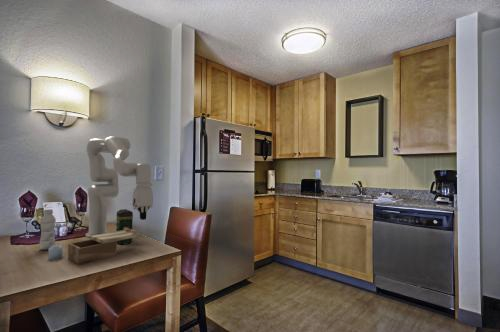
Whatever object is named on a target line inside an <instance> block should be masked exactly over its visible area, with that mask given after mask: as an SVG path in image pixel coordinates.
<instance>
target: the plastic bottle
mask: <svg viewBox="0 0 500 332" xmlns="http://www.w3.org/2000/svg"><path fill="white" fill-rule="evenodd" d="M56 219H57V218H56V217H55V216H54V210H53V209H43V215H42V217H41V218H40V219H39V222H40V223H39V224H40V241H39V244H38V245H39V249H40V250H45V251H46V250H48V251H49V248H50V247H54V246H56V239H55V228H56Z"/></svg>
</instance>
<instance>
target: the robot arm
mask: <svg viewBox="0 0 500 332" xmlns="http://www.w3.org/2000/svg"><path fill="white" fill-rule="evenodd" d="M130 148H131V142H130V139H128V138H127V137H122V136H121V137H120V136H113V135H111V136H108V137H106V138H91V139H90V140H89V141H88V142H87V144H86V153H87V157H88V160H89V178H90V180H91V181H92V182H95V183H96V184H93V185H90V186H89V187H88V189H87V197H88V202H89V205H88V206H89V208H88V211H89V212H88V232H86V233H85V237H86V238H87V237H88V238H91V236H93V235H98V234H104V233H109V232H110V231H108V230H107V216H108V214H107V212H108V210H107V209H108V206H107V203H106V202H105V201H104V200H108V199H115V198H117V197H118V195H119V189H120V188H119V175H120V176H121V177H134V178H135V188H134V190H133V193H132V199H131V202H132V207H133V210H137V211H138V213H139V219H140V220H142V221H144V220H145V221H146V220H147V212H148V210H149V209H152V208H153V205H154V194H153V189H152V187H153V183H152V177H151V176H152V165H151V164H150V163H145V162H143V163H141V162H140V163H137V162H134V163H133V162H125V160H127V159H128V157H129V155H130V151H129V150H130ZM101 153H103V154H104V153H106V154H111V156H113V160H112V161H113V162H112V165H113V167H111V166H108V167H107V166H106V160H105V157H104V156H103V155H102V154H101Z"/></svg>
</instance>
